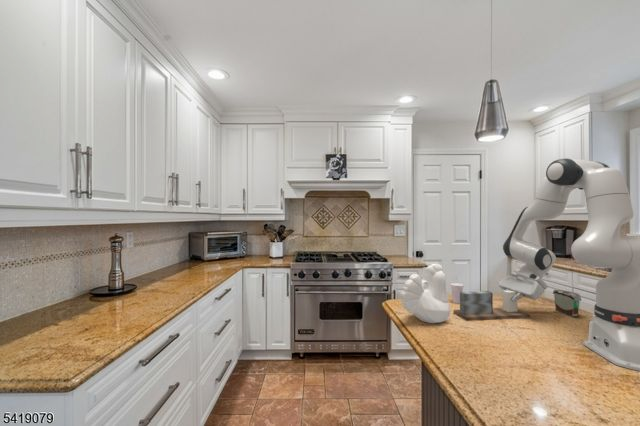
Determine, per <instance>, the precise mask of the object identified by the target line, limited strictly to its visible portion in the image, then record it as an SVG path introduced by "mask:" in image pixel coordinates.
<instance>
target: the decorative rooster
mask: <svg viewBox="0 0 640 426" xmlns="http://www.w3.org/2000/svg"><path fill="white" fill-rule="evenodd" d="M425 272H426V273H425V275H424V279H422V278H421V276H420V275H419V274H417V273H412V274H411V275H410V276H408V279H407V280H405V282H404V284H403V286H402V291H401V292H400V300H401V305H402V308H403V309H405V310H406V312H408V313H409V314H413V315H414V316H415V317H416V318H417V319H419V320H420V321H421V322H425V323H427V324H437V323H443V322H445V321H446V320H447V319H449V317H450V314H451V307H450V303H449V298H448V295H447V288H446V286H447V285H446V284H447V283H446V282H447V281H446V280H447V279H446V274H445V273H444V271H443V266H442V264H439V263H438V264H437V263H432V264H430V265H429V266H427V267H426V268H425Z"/></svg>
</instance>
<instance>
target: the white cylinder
mask: <svg viewBox="0 0 640 426" xmlns="http://www.w3.org/2000/svg"><path fill="white" fill-rule="evenodd" d="M516 295H517V292H516V291H512V290H510V291H505V290H502V308H503V310H504V311H507V312H518V310H519V309H518V305H519V304H518V302H519V301H518V300H517V301H516V302H513V301H512V300H511V298H512V296H513V297H514V296H516Z"/></svg>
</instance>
